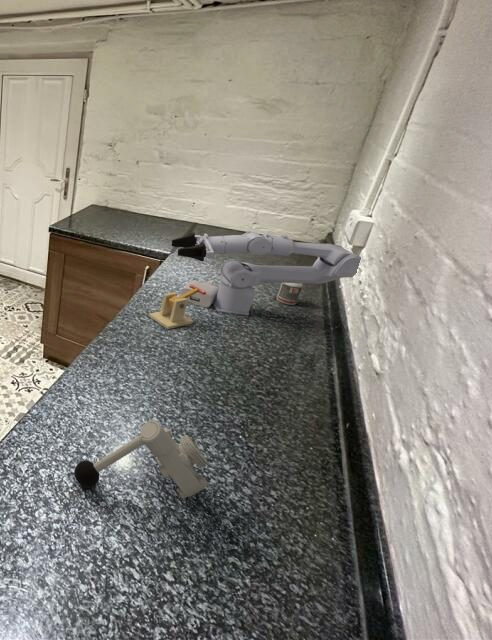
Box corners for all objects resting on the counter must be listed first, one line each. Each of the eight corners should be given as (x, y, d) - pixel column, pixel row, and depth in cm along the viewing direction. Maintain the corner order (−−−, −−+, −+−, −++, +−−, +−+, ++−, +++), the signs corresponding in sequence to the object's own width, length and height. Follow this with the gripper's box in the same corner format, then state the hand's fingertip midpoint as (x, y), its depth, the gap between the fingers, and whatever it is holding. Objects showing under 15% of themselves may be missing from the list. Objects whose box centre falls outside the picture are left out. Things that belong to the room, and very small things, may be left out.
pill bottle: (299, 306, 133) (309, 279, 130) (280, 304, 134) (289, 277, 131) (290, 298, 139) (300, 272, 135) (272, 296, 140) (281, 271, 136)
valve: (108, 497, 77) (63, 450, 74) (196, 444, 74) (154, 392, 70) (127, 550, 68) (77, 499, 64) (230, 492, 64) (183, 434, 60)
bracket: (172, 311, 128) (177, 288, 125) (192, 324, 121) (199, 300, 118) (148, 316, 124) (153, 293, 121) (167, 329, 117) (173, 305, 114)
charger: (221, 294, 140) (208, 308, 130) (193, 286, 146) (179, 299, 136) (224, 282, 138) (211, 295, 128) (196, 274, 144) (181, 287, 134)
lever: (191, 288, 125) (191, 282, 124) (206, 296, 120) (206, 289, 119) (164, 302, 123) (163, 296, 122) (178, 311, 118) (178, 304, 117)
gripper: (214, 225, 129) (169, 228, 132) (231, 241, 116) (181, 244, 119) (212, 245, 132) (169, 247, 135) (229, 263, 119) (180, 265, 122)
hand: (174, 247), depth 127 cm, fingers open, 7 cm apart
